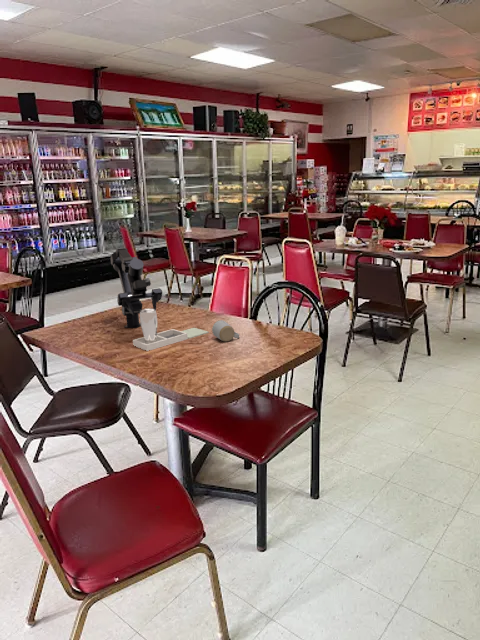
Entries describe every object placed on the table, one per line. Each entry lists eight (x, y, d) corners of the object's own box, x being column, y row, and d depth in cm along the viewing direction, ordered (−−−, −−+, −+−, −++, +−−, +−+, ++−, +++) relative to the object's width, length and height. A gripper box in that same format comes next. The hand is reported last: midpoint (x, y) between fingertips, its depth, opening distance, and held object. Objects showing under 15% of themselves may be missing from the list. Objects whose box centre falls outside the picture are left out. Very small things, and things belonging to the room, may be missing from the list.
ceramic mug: (220, 343, 199) (219, 325, 197) (212, 338, 206) (211, 321, 204) (243, 339, 203) (242, 322, 201) (234, 334, 210) (234, 317, 208)
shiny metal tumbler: (161, 342, 204) (158, 308, 200) (157, 347, 197) (153, 312, 193) (145, 342, 204) (141, 308, 200) (140, 348, 198) (136, 312, 194)
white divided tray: (147, 351, 193) (146, 345, 193) (133, 345, 201) (132, 340, 200) (208, 332, 214) (208, 327, 214) (194, 328, 222) (193, 323, 221)
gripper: (115, 274, 199) (123, 305, 192) (159, 269, 206) (168, 299, 200) (114, 290, 208) (122, 320, 201) (156, 284, 215) (165, 314, 209)
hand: (144, 313), depth 203 cm, fingers open, 9 cm apart
